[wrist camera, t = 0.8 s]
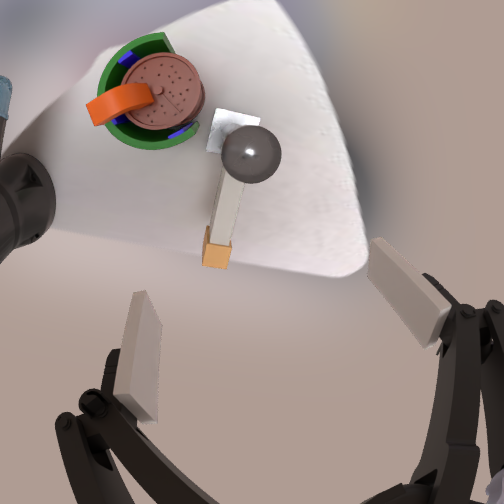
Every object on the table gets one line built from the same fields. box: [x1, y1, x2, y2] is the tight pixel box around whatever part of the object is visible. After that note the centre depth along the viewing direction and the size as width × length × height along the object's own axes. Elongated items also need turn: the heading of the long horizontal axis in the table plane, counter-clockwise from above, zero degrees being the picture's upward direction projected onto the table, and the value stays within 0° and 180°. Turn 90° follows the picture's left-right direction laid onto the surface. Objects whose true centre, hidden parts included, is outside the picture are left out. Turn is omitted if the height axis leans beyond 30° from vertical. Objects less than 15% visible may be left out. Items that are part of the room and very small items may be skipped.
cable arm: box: [202, 165, 245, 269], centre depth 29 cm, size 3×10×5 cm, turn 165°
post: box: [206, 108, 281, 184], centre depth 28 cm, size 6×6×18 cm
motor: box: [86, 32, 205, 150], centre depth 23 cm, size 10×9×20 cm
